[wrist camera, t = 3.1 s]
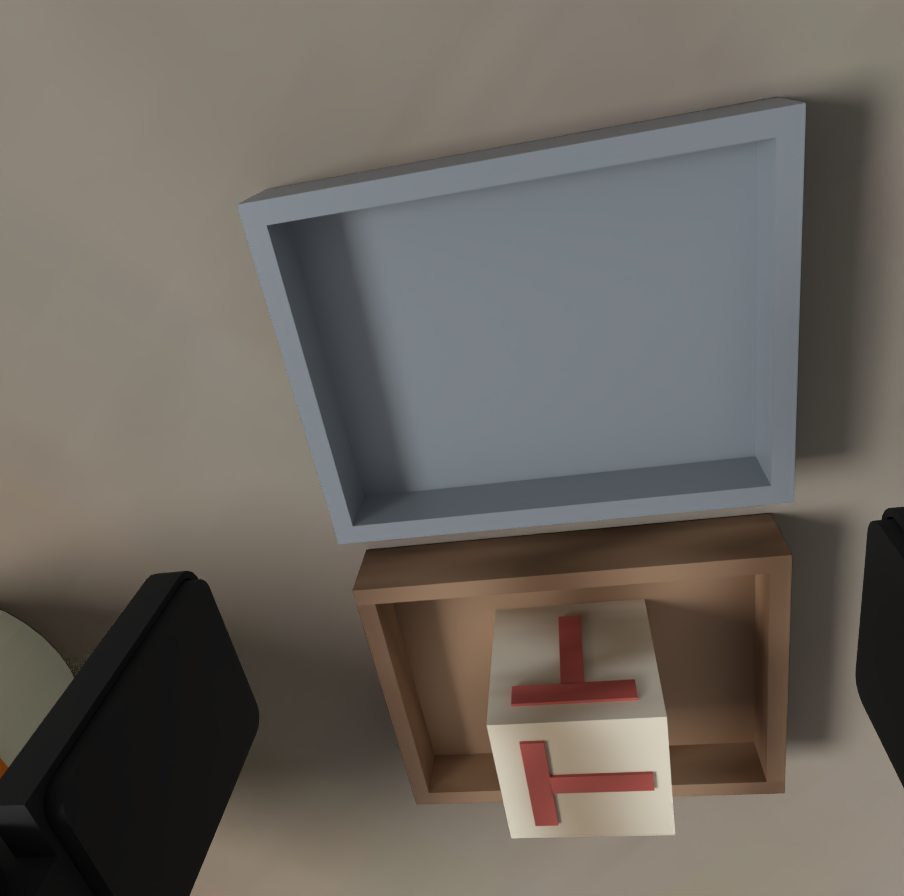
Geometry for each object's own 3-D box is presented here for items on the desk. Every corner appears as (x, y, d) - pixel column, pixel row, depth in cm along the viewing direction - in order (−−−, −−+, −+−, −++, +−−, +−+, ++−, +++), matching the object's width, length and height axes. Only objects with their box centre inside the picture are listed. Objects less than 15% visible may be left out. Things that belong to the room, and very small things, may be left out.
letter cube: (643, 596, 25) (667, 717, 20) (653, 707, 27) (675, 838, 23) (494, 607, 26) (485, 725, 21) (515, 714, 28) (511, 841, 24)
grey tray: (777, 96, 18) (806, 102, 16) (771, 463, 23) (793, 502, 21) (265, 189, 20) (236, 204, 18) (354, 505, 25) (338, 544, 23)
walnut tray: (771, 513, 24) (792, 554, 22) (767, 741, 28) (784, 793, 26) (366, 550, 26) (352, 590, 24) (424, 755, 30) (416, 804, 28)
